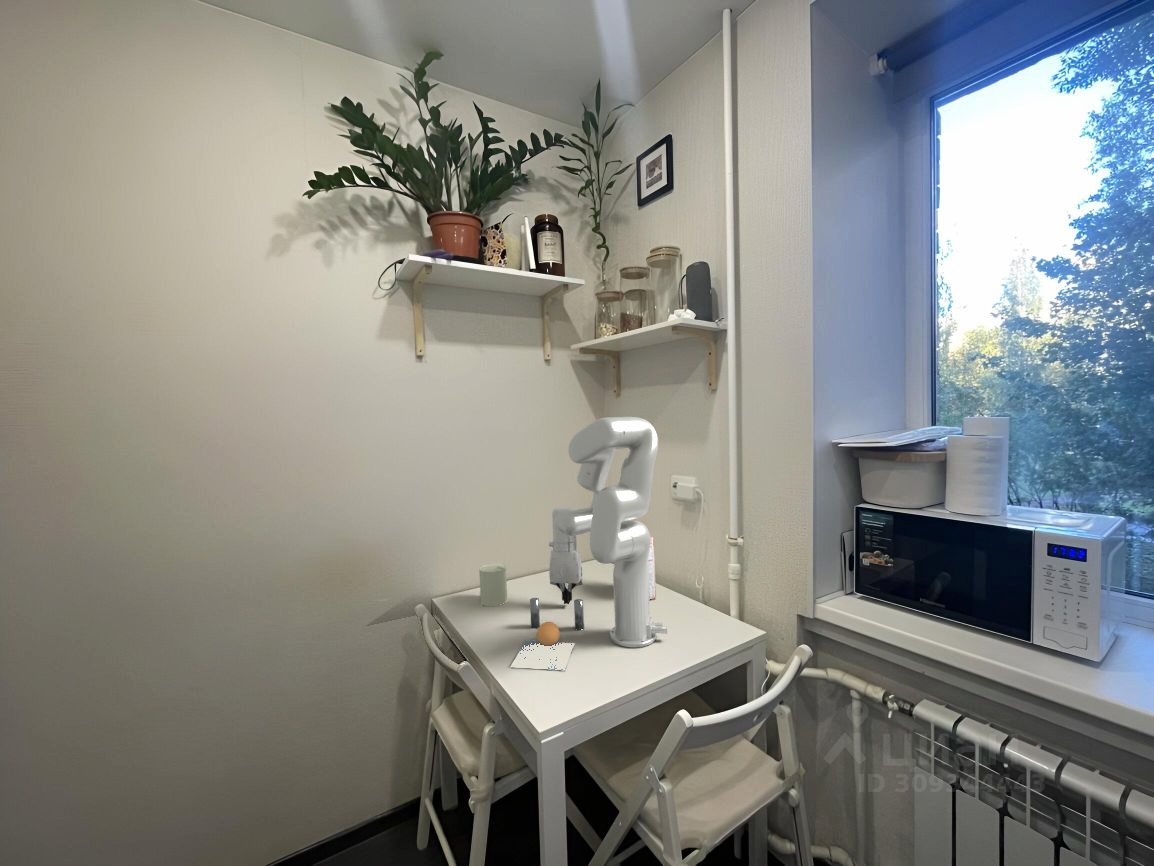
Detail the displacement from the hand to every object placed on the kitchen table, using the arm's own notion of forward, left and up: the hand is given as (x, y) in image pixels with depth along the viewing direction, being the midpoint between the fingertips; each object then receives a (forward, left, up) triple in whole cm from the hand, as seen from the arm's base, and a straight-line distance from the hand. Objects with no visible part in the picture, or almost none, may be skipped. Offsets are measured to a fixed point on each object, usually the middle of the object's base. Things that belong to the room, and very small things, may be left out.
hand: (567, 602), depth 146 cm
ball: (0, +26, +2) cm, 26 cm away
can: (+26, -3, -2) cm, 26 cm away
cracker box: (-22, -13, -2) cm, 26 cm away
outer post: (+7, +15, -2) cm, 16 cm away
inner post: (-6, +15, -2) cm, 16 cm away
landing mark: (0, +31, -2) cm, 31 cm away
